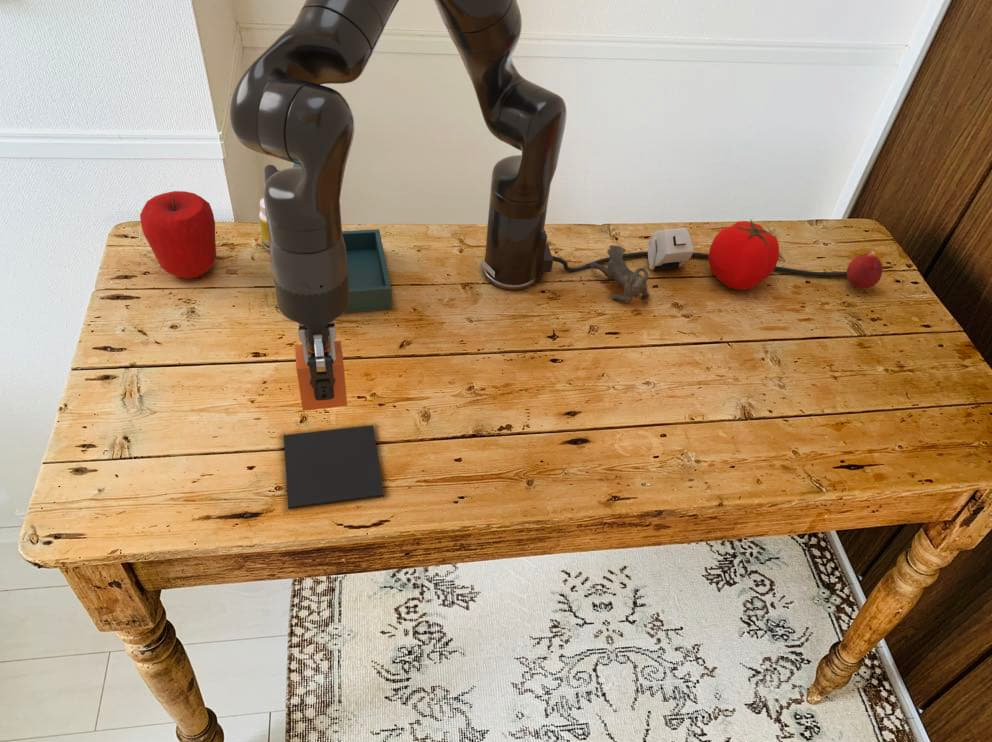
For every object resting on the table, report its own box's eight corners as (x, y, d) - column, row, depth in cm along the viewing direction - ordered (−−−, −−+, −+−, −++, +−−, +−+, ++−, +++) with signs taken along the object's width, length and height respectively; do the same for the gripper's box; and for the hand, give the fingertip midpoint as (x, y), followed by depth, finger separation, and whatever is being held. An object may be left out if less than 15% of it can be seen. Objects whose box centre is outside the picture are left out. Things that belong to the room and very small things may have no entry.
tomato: (708, 297, 140) (726, 245, 131) (697, 256, 147) (714, 204, 139) (774, 302, 141) (797, 250, 133) (760, 261, 148) (780, 210, 140)
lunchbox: (379, 249, 139) (379, 229, 136) (391, 309, 129) (391, 288, 126) (286, 255, 136) (283, 234, 132) (291, 317, 126) (288, 296, 122)
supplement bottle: (285, 255, 135) (280, 213, 129) (259, 249, 136) (251, 207, 130) (296, 239, 139) (291, 197, 133) (270, 233, 139) (264, 191, 133)
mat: (373, 426, 112) (372, 424, 112) (383, 496, 105) (383, 494, 105) (283, 436, 110) (283, 434, 109) (288, 508, 102) (288, 507, 102)
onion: (874, 284, 147) (893, 249, 141) (869, 302, 144) (889, 266, 138) (842, 273, 149) (860, 238, 143) (837, 291, 145) (855, 255, 139)
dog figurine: (653, 305, 137) (663, 270, 131) (625, 313, 134) (634, 278, 129) (614, 263, 143) (622, 229, 138) (587, 271, 141) (594, 236, 136)
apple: (217, 244, 136) (201, 172, 126) (230, 281, 130) (215, 209, 120) (150, 255, 132) (129, 183, 122) (160, 294, 126) (139, 221, 116)
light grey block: (644, 273, 145) (668, 261, 136) (639, 237, 145) (662, 222, 136) (674, 270, 147) (700, 258, 137) (668, 234, 147) (694, 220, 137)
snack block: (344, 382, 99) (340, 340, 94) (347, 406, 97) (343, 364, 91) (300, 386, 98) (294, 344, 93) (302, 410, 95) (296, 369, 90)
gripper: (354, 311, 79) (361, 425, 92) (340, 225, 88) (349, 339, 101) (275, 317, 78) (293, 432, 90) (269, 229, 87) (287, 345, 99)
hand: (323, 383), depth 96 cm, fingers closed on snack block, 4 cm apart
